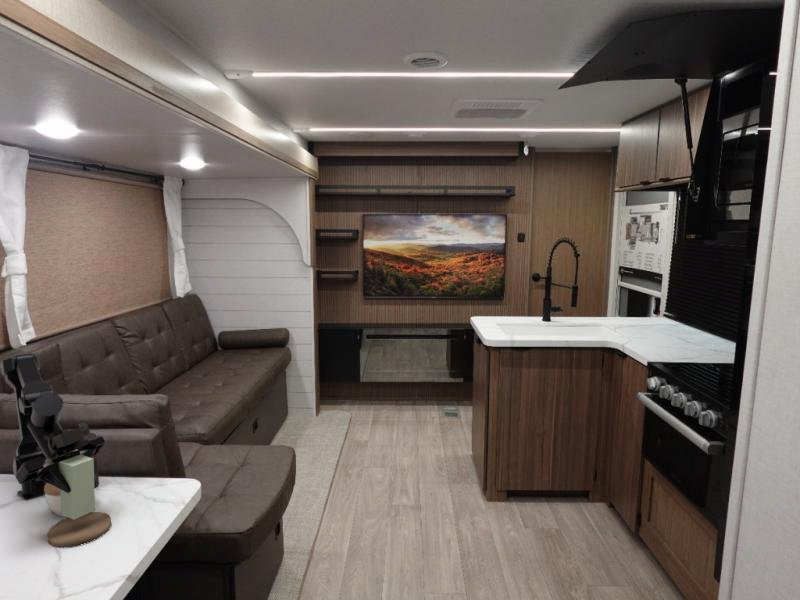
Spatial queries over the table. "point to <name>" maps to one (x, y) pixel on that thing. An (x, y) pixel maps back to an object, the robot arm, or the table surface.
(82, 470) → the post
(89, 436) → the deodorant
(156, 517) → the table surface
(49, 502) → the lidded jar
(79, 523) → the disc
